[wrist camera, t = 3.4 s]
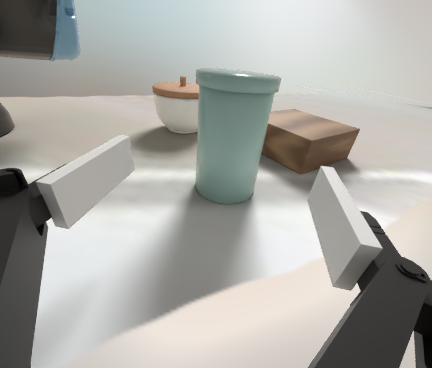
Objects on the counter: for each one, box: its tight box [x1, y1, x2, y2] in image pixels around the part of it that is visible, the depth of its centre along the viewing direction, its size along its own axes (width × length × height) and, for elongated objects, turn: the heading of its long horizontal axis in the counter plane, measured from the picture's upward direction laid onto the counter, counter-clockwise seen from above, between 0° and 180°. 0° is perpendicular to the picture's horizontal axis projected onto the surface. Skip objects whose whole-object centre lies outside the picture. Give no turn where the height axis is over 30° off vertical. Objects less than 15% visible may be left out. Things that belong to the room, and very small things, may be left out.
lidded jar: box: [153, 77, 199, 134], centre depth 40 cm, size 11×11×9 cm
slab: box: [262, 109, 360, 174], centre depth 36 cm, size 13×13×5 cm
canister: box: [196, 69, 281, 204], centre depth 22 cm, size 8×8×12 cm
